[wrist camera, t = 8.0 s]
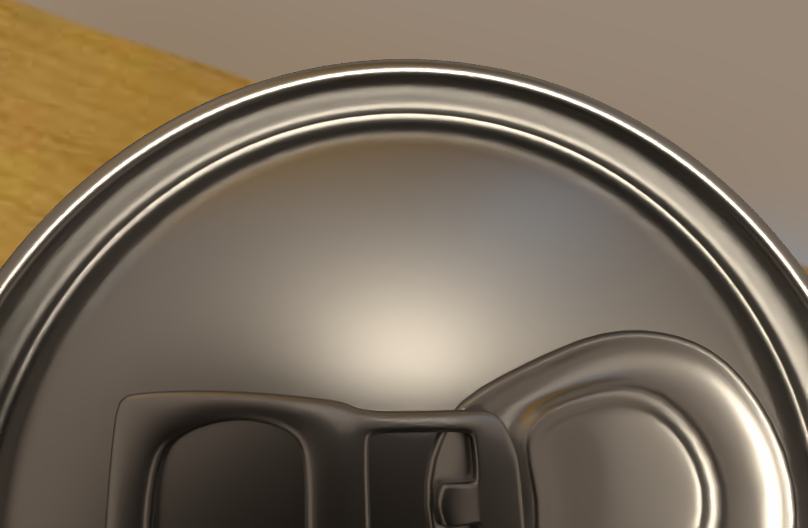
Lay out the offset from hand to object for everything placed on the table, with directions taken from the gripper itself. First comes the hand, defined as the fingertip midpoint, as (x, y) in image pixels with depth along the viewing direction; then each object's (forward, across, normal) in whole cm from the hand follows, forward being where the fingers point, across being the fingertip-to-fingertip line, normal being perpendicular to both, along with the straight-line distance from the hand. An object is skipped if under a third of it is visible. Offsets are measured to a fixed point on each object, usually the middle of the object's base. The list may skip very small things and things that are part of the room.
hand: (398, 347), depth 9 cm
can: (+4, 0, +6) cm, 7 cm away
